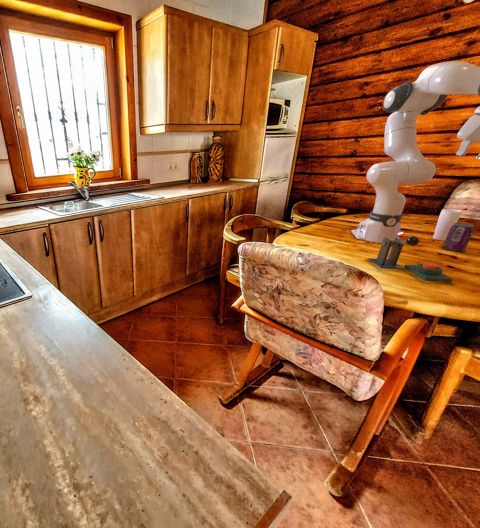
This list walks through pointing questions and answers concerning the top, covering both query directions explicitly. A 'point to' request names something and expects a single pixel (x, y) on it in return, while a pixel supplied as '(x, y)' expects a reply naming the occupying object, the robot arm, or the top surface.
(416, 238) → the lever
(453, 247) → the purple box
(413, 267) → the panel
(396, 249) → the power bracket
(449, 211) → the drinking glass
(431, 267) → the button
